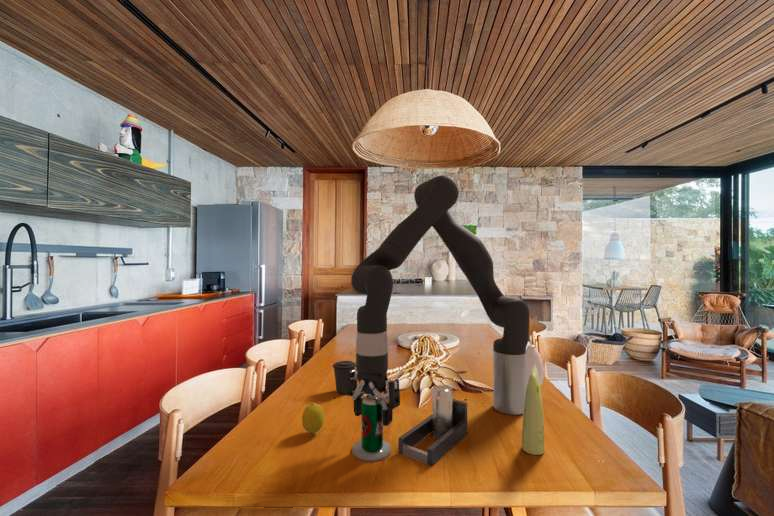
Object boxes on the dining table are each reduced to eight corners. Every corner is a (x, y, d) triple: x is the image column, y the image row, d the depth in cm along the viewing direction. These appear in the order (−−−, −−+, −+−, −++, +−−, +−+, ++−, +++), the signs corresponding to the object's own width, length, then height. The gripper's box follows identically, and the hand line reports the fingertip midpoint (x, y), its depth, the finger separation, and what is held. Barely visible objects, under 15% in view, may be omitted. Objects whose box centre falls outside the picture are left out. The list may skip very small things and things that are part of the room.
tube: (551, 455, 81) (551, 370, 81) (531, 458, 79) (531, 371, 80) (535, 443, 86) (535, 362, 86) (517, 445, 85) (516, 364, 85)
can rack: (436, 424, 96) (436, 394, 96) (467, 433, 91) (467, 402, 91) (398, 452, 82) (398, 418, 82) (432, 466, 76) (432, 429, 76)
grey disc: (369, 437, 89) (369, 434, 89) (398, 448, 84) (398, 446, 84) (344, 452, 82) (344, 449, 82) (374, 466, 76) (374, 463, 76)
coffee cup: (361, 390, 121) (361, 361, 121) (346, 398, 114) (346, 367, 114) (342, 385, 125) (342, 357, 125) (327, 393, 118) (327, 363, 119)
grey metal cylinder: (438, 429, 93) (438, 383, 93) (456, 435, 90) (456, 388, 90) (428, 437, 89) (428, 389, 89) (446, 443, 86) (446, 394, 86)
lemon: (327, 430, 92) (327, 400, 92) (316, 441, 87) (317, 408, 87) (309, 427, 94) (309, 397, 94) (297, 437, 89) (297, 405, 89)
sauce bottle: (515, 389, 122) (515, 337, 122) (525, 384, 127) (525, 334, 127) (537, 396, 116) (537, 341, 116) (547, 390, 121) (547, 337, 121)
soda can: (380, 454, 80) (380, 401, 80) (358, 452, 81) (358, 399, 81) (385, 443, 85) (385, 393, 85) (364, 441, 86) (364, 391, 86)
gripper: (406, 351, 81) (406, 422, 81) (359, 343, 90) (360, 406, 90) (386, 359, 76) (387, 435, 75) (338, 349, 84) (339, 417, 84)
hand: (372, 419), depth 83 cm, fingers open, 8 cm apart
